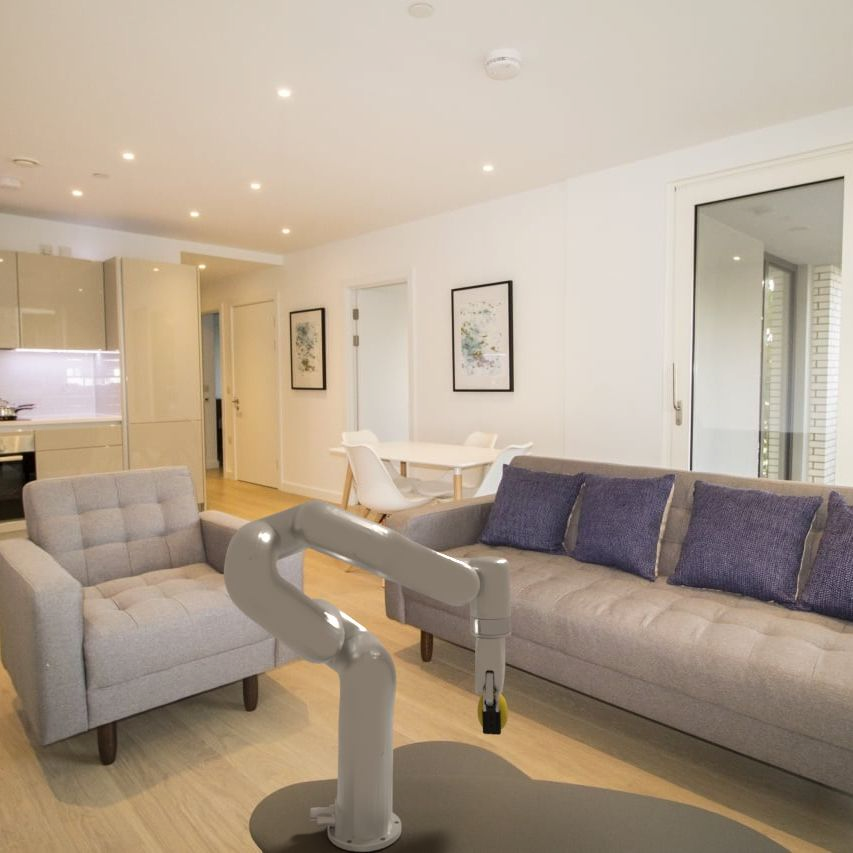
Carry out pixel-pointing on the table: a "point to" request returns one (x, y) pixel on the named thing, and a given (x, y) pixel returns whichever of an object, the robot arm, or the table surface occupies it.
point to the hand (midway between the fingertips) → (493, 725)
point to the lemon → (501, 707)
